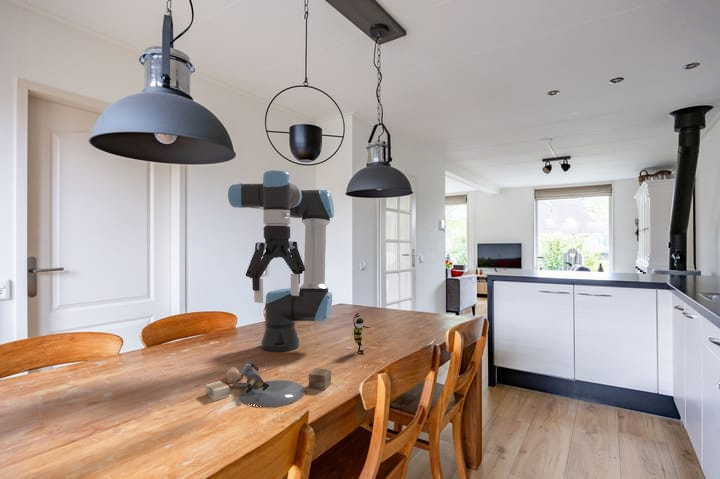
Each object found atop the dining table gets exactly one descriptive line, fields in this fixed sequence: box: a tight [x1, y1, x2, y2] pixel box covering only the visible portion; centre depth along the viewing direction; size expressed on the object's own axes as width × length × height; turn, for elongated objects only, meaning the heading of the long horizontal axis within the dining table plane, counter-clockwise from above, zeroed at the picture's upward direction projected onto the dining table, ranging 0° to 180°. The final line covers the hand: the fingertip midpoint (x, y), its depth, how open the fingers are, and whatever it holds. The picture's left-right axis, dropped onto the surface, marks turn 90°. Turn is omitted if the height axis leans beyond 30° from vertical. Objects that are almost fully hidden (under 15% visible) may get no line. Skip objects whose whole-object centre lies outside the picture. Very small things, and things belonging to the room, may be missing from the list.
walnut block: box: [308, 368, 332, 391], centre depth 109 cm, size 5×5×5 cm
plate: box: [238, 379, 306, 408], centre depth 104 cm, size 18×18×1 cm
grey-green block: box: [205, 380, 230, 402], centre depth 102 cm, size 6×4×4 cm, turn 44°
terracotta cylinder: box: [225, 366, 242, 384], centre depth 114 cm, size 4×4×5 cm
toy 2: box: [350, 312, 371, 355], centre depth 144 cm, size 7×8×15 cm
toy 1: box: [226, 362, 269, 393], centre depth 105 cm, size 8×10×15 cm
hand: (277, 298), depth 107 cm, fingers open, 13 cm apart
